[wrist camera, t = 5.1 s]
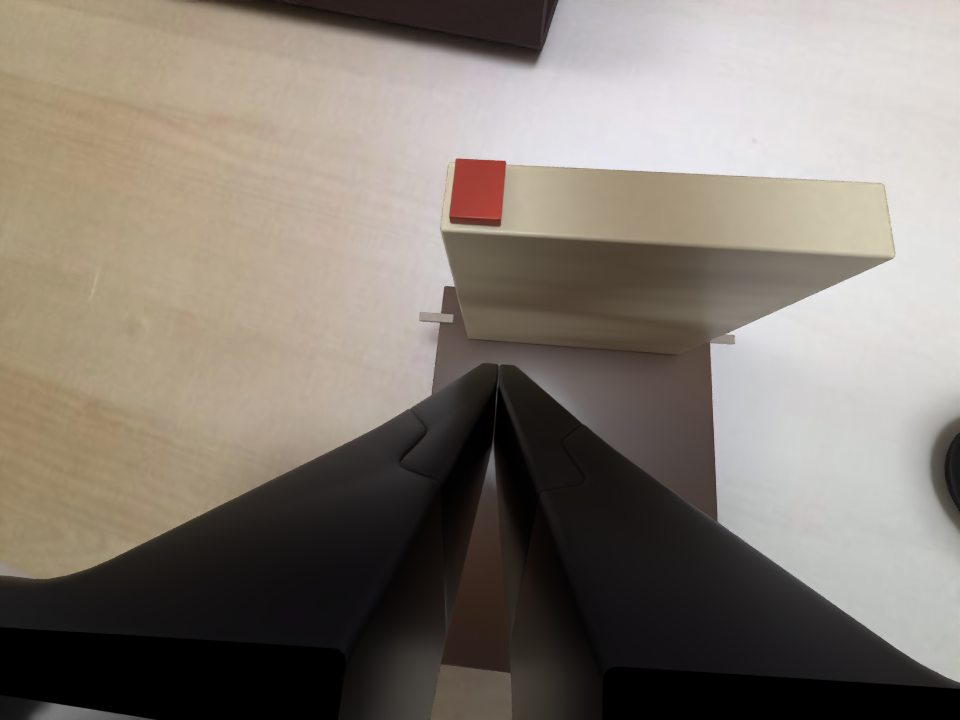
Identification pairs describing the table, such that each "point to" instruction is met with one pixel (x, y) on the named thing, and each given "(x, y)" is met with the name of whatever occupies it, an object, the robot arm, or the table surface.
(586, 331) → the red-cornered cream slab
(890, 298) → the table surface
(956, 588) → the table surface
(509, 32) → the book
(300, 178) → the table surface
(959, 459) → the beverage can
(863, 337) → the table surface
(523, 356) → the brown flat piece
